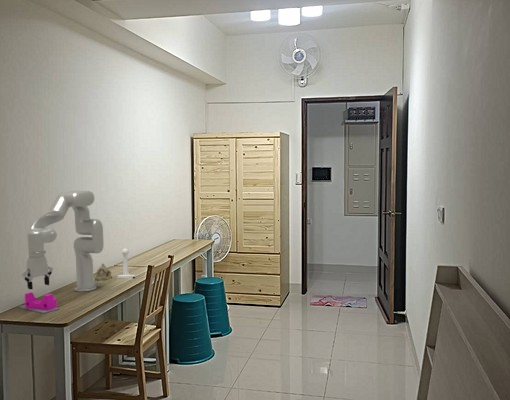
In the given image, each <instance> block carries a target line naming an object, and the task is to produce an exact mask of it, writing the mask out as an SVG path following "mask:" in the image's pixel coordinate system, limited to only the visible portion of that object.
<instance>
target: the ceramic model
mask: <svg viewBox="0 0 510 400" xmlns="http://www.w3.org/2000/svg"><path fill="white" fill-rule="evenodd" d="M112 276H113V275H112V271H111V270H110V269H109V268H108V267H107V266H106V265H105V264H104V263H101V266H100V267H98V269H97V271H96V275H95V276H94V281H96V280H102V281H107V280H106V279H108V280H109V279H111V278H110V277H112ZM112 278H113V277H112Z"/></svg>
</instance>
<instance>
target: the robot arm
mask: <svg viewBox="0 0 510 400" xmlns="http://www.w3.org/2000/svg"><path fill="white" fill-rule="evenodd" d="M94 203H95V194H94V193H93V192H92V191H90V190H70V191H63V192H60V193H59V194H58V195H57V196H56V198H55V199H54V202H53V204H52V205H51V207H50V208H49V210H48V211H47V212H46V213H43V214H42V215H41V216H40V217H38V218H37V219H36V220H35V221H34V222H33V224H32V225H31V228H30V229H29V231H28V232H27V236H26V237H27V248H28V250H27V251H28V257H27V259H26V269H25V271H24V272H23V273H22V274H21V276H22V278H23V280H25V281H26V283H27V284H26V285H27V289H28V290H33V289H34V287H33V281H32V280H33V278H39V277H42V276H44V277H43V281H44V285H45V286H50V278H51V275H52V273H53V270H54V268H53V267H51V266H48V260H47V257H46V255H45V254H47V251H46V250H45V248H44V247H45V245H44V244H47V243H48V244H49V243H53V242H54V241H55V240H56V239H57V232H56V231H55V229H53V228H47V227H48V226H50V225H53V224H55V223H58V222H61V221H62V220H63V219H64V218H65V216H66V214H67V213H68V211H69V209H70V208H72V210H73V212H74V225H75V226H74V227H75V228H74V229H75V232H76V233H77V234H78V235H81V236H80V237H76V239H74V242H73V249H74V255H75V268H76V269H75V271H76V273H75V274H76V287H74V292H82V293H83V292H90V291H95V290H96V289H97V286H96V285H99V284H101V281H96V280H94V263H93V262H94V260H93V257H92V254H100V253H102V251H103V249H104V226H103V224H102V222H101V220H100V219H97V218H91V215H90V208H89V207H90V206H91V205H92V204H94ZM82 235H83V236H82Z"/></svg>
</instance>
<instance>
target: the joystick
mask: <svg viewBox="0 0 510 400" xmlns="http://www.w3.org/2000/svg"><path fill="white" fill-rule="evenodd" d="M121 254H122V256H123V258H122V261H123V263H122V265H123V266H122V267H123V268H122V274H117V275H116V276H117V278H132V277H135V278H136V274H131V273H130V271H129V263H128V261H129V260H128V254H129V249H128V248H126V247H124V248H123V249H121Z"/></svg>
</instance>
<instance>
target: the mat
mask: <svg viewBox="0 0 510 400" xmlns="http://www.w3.org/2000/svg"><path fill="white" fill-rule="evenodd" d="M18 308H19V309H23V310H27V309H28V310H27V311H31V310H32V311H31V312H34V313H35V312H36V313H39V314H47V313H52V312H55V311H59V310H60V308H59V307H57V308H54V309H51V310H39V309H29V308H25V304H23V305H19V306H18Z"/></svg>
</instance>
